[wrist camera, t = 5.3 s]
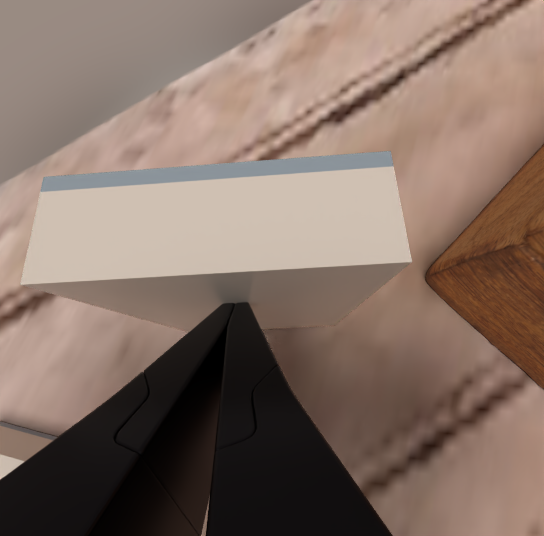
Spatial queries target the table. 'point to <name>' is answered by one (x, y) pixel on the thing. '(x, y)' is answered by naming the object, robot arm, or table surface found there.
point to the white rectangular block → (223, 239)
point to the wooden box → (502, 270)
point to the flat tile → (19, 446)
